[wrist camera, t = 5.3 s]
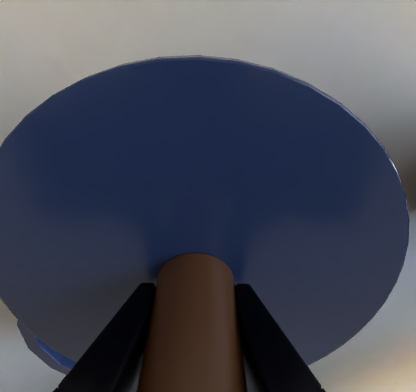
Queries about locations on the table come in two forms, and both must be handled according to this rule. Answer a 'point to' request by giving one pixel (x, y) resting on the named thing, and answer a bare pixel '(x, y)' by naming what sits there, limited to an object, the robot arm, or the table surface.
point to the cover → (197, 215)
